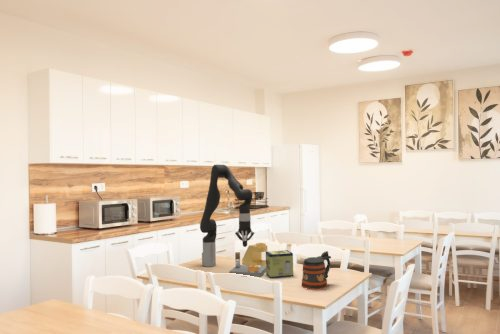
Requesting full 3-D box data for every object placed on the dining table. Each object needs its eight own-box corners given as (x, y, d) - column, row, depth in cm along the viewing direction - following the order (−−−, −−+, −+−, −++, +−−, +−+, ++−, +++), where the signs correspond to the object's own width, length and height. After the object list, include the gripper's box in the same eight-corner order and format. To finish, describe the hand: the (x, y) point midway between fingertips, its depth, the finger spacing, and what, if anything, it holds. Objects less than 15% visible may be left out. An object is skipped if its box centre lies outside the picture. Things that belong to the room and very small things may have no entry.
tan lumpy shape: (270, 266, 299) (270, 243, 299) (260, 268, 293) (260, 245, 293) (251, 262, 314) (251, 240, 314) (242, 264, 308) (241, 242, 308)
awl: (234, 268, 282) (234, 253, 283) (236, 267, 286) (236, 252, 286) (239, 268, 282) (239, 253, 282) (240, 267, 285) (240, 252, 285)
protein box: (265, 275, 274) (265, 251, 274) (288, 273, 278) (287, 249, 278) (270, 279, 264) (269, 254, 264) (293, 277, 267) (293, 252, 268)
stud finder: (248, 271, 271) (247, 266, 271) (249, 269, 275) (249, 265, 275) (257, 271, 270) (257, 266, 270) (258, 270, 274) (258, 265, 274)
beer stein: (320, 281, 256) (319, 248, 256) (338, 287, 244) (337, 252, 244) (296, 287, 245) (295, 252, 245) (313, 293, 233) (313, 256, 233)
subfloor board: (229, 276, 274) (229, 271, 274) (237, 269, 292) (237, 264, 292) (260, 277, 268) (260, 272, 268) (267, 270, 287) (267, 265, 287)
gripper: (233, 220, 272) (233, 247, 272) (253, 220, 270) (254, 248, 270) (235, 219, 280) (236, 245, 280) (255, 219, 278) (255, 245, 278)
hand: (245, 246), depth 275 cm, fingers closed
